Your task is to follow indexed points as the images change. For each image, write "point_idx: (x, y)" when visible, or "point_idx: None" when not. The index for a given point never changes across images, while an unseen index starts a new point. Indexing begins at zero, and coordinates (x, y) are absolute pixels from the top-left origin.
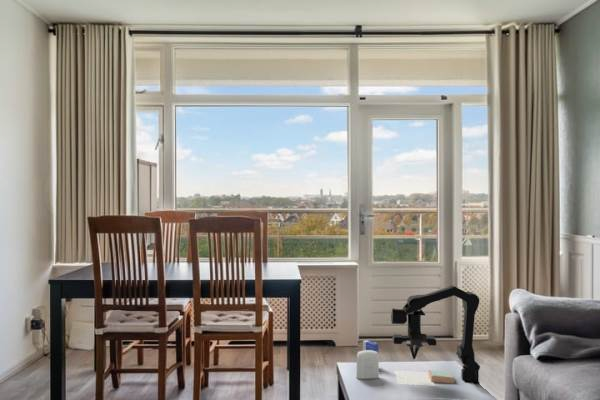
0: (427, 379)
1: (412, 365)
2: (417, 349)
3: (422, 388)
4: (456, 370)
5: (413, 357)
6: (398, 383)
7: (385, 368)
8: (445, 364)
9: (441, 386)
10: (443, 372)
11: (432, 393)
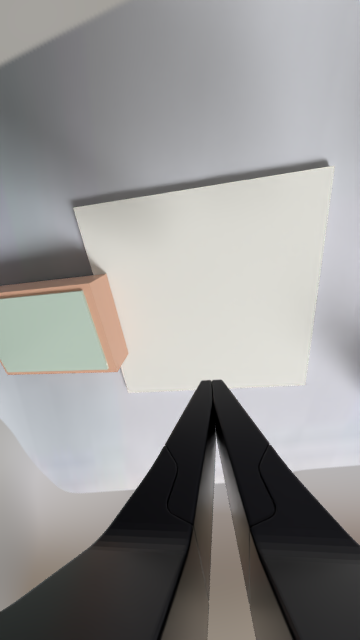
0: (129, 303)
1: None
2: (151, 505)
3: (156, 152)
4: (27, 433)
5: (221, 390)
6: (329, 178)
7: (341, 412)
8: (76, 474)
9: (47, 230)
10: (35, 359)
11: (80, 55)
